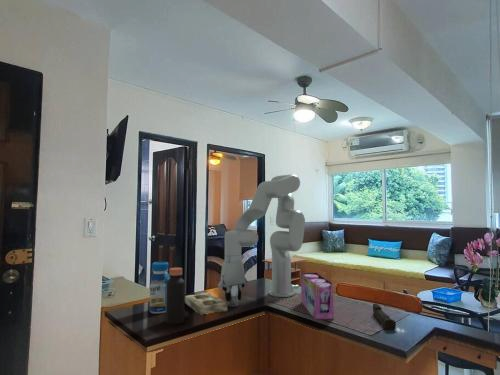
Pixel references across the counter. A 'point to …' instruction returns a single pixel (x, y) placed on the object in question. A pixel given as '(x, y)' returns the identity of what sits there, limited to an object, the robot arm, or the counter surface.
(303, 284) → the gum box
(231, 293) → the steel sleeve
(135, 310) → the counter surface
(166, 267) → the beverage bottle
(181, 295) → the vinegar
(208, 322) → the counter surface
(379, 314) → the hand tool
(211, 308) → the jig plate
